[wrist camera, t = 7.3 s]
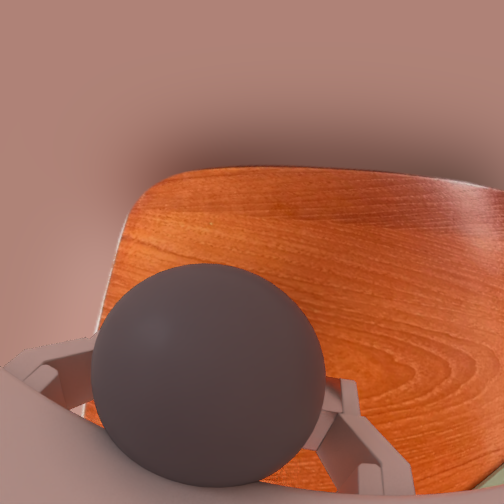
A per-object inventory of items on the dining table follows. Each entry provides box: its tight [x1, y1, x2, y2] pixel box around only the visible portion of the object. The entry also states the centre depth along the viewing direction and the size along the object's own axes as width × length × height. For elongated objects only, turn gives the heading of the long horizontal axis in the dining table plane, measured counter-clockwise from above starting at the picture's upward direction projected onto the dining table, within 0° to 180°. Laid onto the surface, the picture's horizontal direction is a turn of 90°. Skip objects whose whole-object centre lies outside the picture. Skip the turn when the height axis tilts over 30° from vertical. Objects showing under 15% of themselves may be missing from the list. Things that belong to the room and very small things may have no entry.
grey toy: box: [91, 263, 326, 488], centre depth 9 cm, size 5×5×12 cm
